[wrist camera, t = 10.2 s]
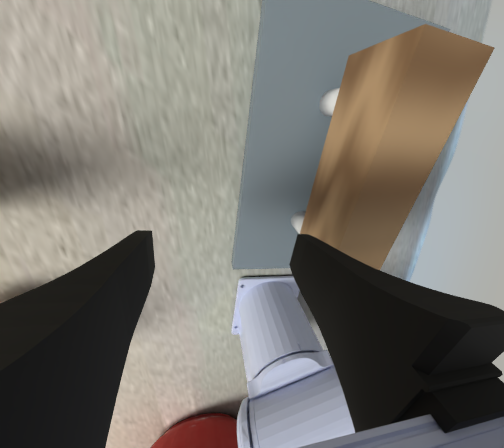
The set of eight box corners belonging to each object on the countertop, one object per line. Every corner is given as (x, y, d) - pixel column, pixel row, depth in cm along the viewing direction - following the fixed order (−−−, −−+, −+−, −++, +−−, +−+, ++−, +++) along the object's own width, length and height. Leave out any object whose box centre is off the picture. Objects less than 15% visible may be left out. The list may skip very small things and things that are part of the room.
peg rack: (342, 260, 26) (361, 281, 23) (231, 262, 22) (236, 286, 19) (434, 34, 16) (490, 15, 13) (264, -23, 13) (285, -69, 10)
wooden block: (334, 248, 20) (371, 286, 15) (295, 248, 19) (323, 288, 14) (401, 69, 13) (494, 47, 9) (348, 55, 13) (425, 23, 8)
